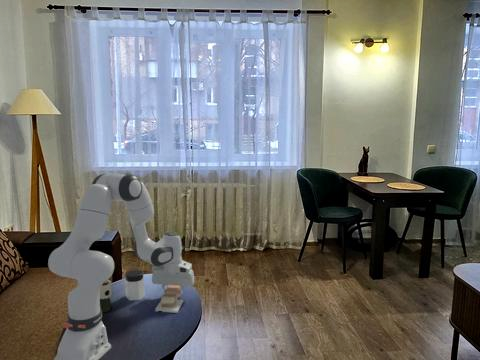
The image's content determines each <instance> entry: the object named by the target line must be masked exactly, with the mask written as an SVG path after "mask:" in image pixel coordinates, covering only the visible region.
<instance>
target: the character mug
mask: <svg viewBox="0 0 480 360" xmlns="http://www.w3.org/2000/svg"><path fill="white" fill-rule="evenodd" d="M112 294H113V293H112V281H111V280H109V279H108V280H107V281H105V282H104V283H103V284H102V286H101V289H100V308H101V311H102V313H108V312H109V311H111V309H112V302H111V298H110V297H112Z"/></svg>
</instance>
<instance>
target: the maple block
mask: <svg viewBox="0 0 480 360" xmlns="http://www.w3.org/2000/svg"><path fill="white" fill-rule="evenodd" d="M177 300H178V299H177V293H170V292H165V293H164V294H163V295H162V296H161V300H160V301H162V307H168V308H174V306H175V305H176V303H177Z"/></svg>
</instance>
